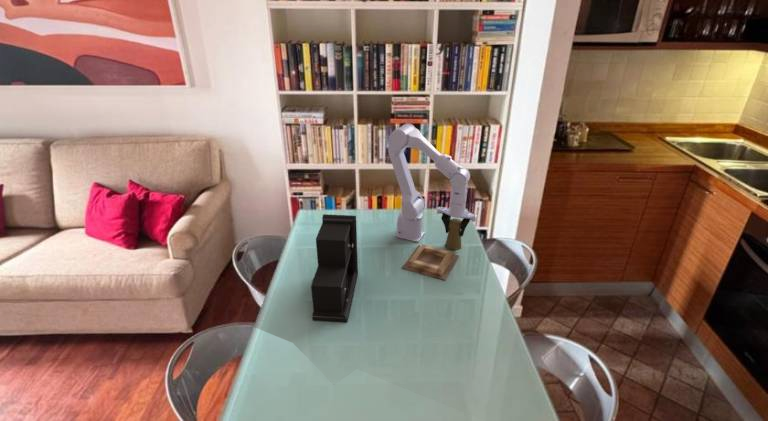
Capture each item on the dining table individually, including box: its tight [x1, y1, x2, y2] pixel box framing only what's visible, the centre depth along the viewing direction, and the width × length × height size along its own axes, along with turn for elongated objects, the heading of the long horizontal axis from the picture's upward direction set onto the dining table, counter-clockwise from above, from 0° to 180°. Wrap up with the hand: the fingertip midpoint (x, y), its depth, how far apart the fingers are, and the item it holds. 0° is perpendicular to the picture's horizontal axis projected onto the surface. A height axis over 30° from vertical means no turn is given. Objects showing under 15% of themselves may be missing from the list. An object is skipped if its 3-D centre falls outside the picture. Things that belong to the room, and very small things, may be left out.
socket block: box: [401, 243, 460, 281], centre depth 146 cm, size 16×16×2 cm
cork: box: [445, 218, 462, 251], centre depth 153 cm, size 6×6×11 cm
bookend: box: [310, 213, 359, 323], centre depth 124 cm, size 23×11×24 cm, turn 176°
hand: (454, 233), depth 153 cm, fingers closed on cork, 5 cm apart
